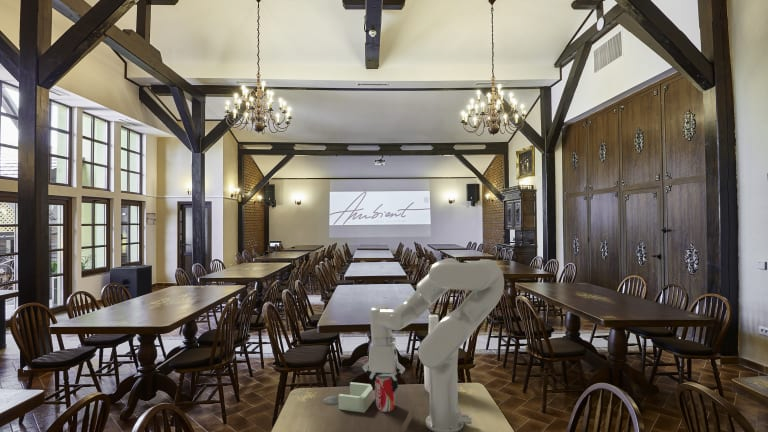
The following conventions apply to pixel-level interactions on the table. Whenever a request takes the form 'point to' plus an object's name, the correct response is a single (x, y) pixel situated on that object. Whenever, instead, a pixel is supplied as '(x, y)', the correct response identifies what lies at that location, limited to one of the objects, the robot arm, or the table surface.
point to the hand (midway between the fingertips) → (384, 389)
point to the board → (331, 400)
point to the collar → (357, 398)
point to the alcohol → (432, 323)
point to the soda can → (384, 392)
